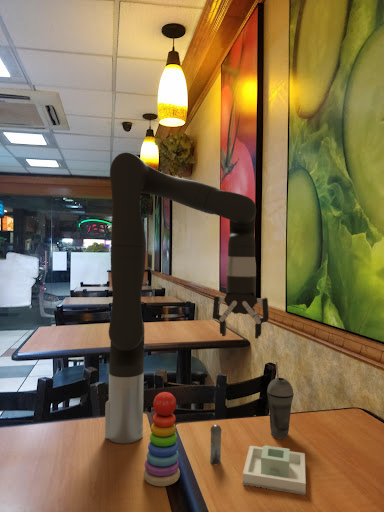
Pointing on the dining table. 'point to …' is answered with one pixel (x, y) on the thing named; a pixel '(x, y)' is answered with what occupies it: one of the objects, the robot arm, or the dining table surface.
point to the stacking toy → (162, 443)
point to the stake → (215, 444)
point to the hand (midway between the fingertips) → (240, 336)
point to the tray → (291, 484)
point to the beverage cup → (279, 405)
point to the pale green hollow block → (275, 461)
